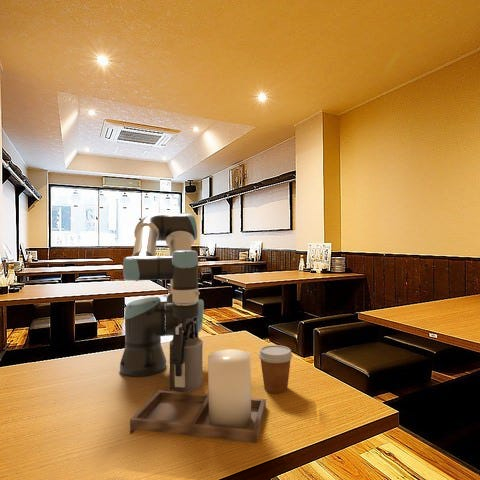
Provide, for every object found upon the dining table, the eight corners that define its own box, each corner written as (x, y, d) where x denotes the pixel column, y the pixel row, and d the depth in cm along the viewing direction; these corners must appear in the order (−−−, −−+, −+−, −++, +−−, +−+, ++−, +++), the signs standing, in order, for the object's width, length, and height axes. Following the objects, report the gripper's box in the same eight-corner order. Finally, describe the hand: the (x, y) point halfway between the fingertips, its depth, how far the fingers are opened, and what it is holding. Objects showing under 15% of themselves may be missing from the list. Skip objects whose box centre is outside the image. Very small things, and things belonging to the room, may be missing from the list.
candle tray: (130, 432, 76) (129, 419, 76) (158, 401, 91) (158, 390, 91) (256, 447, 70) (256, 433, 70) (265, 411, 85) (265, 399, 85)
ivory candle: (203, 429, 75) (202, 362, 75) (215, 407, 85) (214, 348, 85) (247, 434, 73) (246, 365, 73) (254, 411, 83) (253, 350, 83)
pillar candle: (162, 391, 96) (162, 339, 96) (181, 378, 105) (181, 330, 105) (191, 398, 92) (191, 344, 92) (208, 384, 101) (208, 334, 101)
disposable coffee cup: (270, 403, 89) (270, 358, 89) (252, 389, 97) (252, 347, 97) (299, 395, 93) (299, 352, 93) (280, 382, 102) (279, 342, 102)
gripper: (184, 311, 87) (184, 397, 87) (208, 296, 109) (209, 365, 109) (157, 310, 88) (157, 395, 88) (186, 296, 110) (187, 364, 110)
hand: (186, 378), depth 99 cm, fingers closed on pillar candle, 10 cm apart
